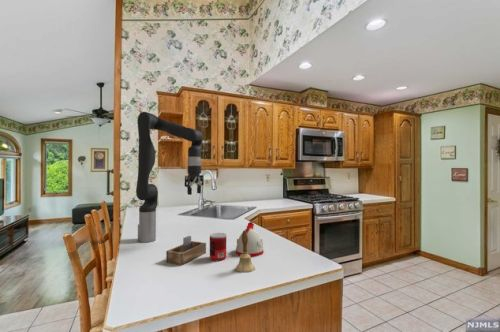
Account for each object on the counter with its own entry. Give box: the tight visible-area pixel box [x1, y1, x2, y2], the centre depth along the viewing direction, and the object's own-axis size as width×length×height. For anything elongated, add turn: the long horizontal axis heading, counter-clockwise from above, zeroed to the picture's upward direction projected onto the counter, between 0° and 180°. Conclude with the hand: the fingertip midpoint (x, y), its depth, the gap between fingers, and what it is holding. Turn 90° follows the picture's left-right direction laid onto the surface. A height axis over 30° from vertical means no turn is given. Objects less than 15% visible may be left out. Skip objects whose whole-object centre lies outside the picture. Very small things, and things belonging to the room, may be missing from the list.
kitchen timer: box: [235, 221, 264, 258], centre depth 128 cm, size 14×14×15 cm
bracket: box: [182, 235, 192, 253], centre depth 120 cm, size 5×4×9 cm
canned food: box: [209, 232, 227, 262], centre depth 119 cm, size 8×8×11 cm
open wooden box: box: [165, 240, 207, 266], centre depth 120 cm, size 9×18×5 cm, turn 156°
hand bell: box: [235, 229, 256, 273], centre depth 106 cm, size 8×8×16 cm
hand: (194, 193), depth 142 cm, fingers open, 8 cm apart
